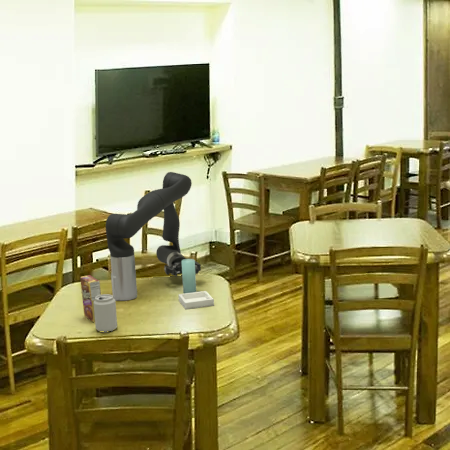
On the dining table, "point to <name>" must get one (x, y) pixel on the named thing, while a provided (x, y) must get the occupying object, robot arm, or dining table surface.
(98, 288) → the candy box
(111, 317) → the can
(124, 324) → the dining table surface
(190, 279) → the pale green cylinder
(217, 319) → the dining table surface
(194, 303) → the tray
